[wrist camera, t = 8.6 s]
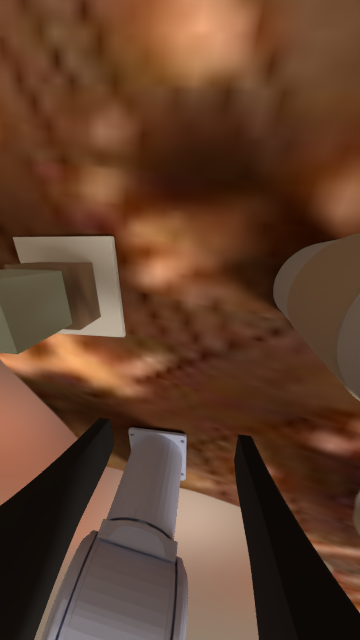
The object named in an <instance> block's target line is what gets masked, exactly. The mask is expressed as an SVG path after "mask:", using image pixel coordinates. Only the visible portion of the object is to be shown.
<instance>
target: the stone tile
mask: <svg viewBox="0 0 360 640" xmlns="http://www.w3.org/2000/svg"><path fill="white" fill-rule="evenodd" d="M13 240H14V243H15V247H16V250H17V253H18V257H19V260H20V263H32V262H92V264H93V271H94V277H95V283H96V289H97V295H98V301H99V307H100V313H101V317H100V318H98V319H97V320H95V321H94V322H92V323H91V324H89V325H88V326H86V327H84V328H83V329H81V330H67V329H62V330H61V331H59V332H57V333H63V334H80V335H96V336H113V337H124V336H125V335H126V334H125V325H124V317H123V308H122V300H121V292H120V283H119V275H118V266H117V258H116V250H115V241H114V237H113V236H81V237H13Z"/></svg>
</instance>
